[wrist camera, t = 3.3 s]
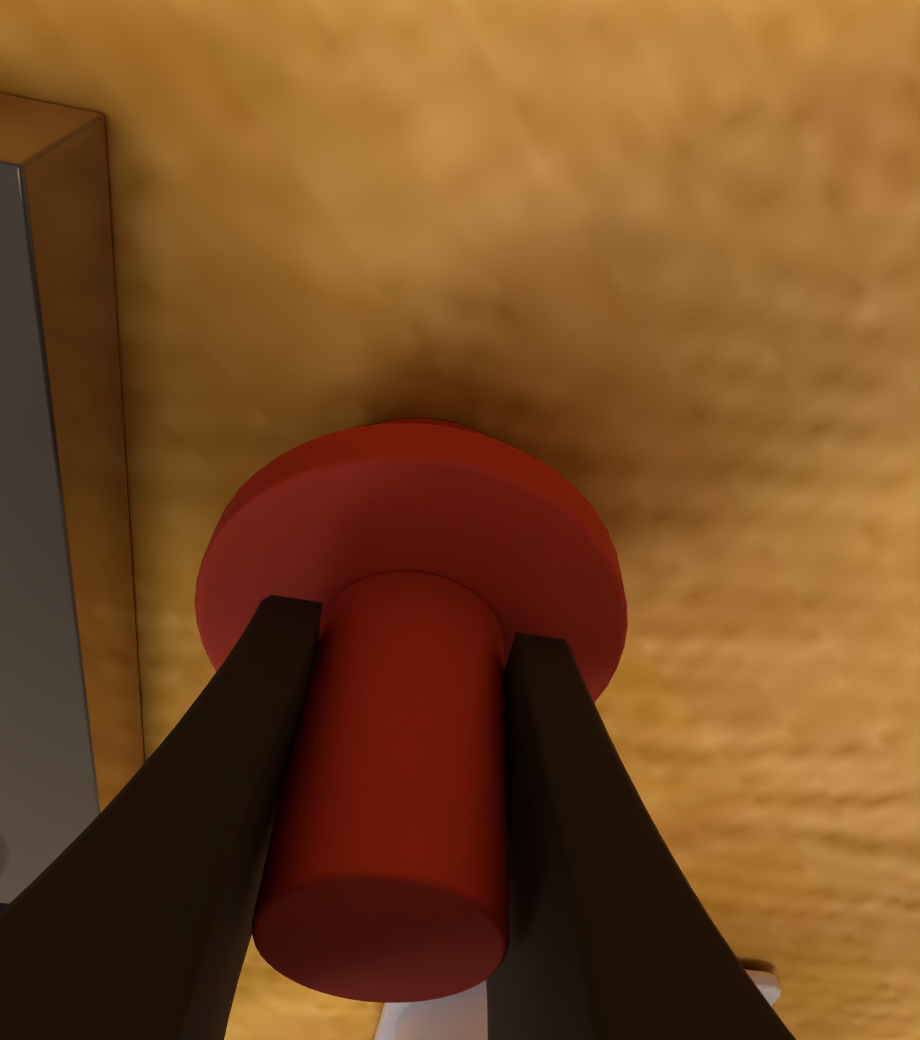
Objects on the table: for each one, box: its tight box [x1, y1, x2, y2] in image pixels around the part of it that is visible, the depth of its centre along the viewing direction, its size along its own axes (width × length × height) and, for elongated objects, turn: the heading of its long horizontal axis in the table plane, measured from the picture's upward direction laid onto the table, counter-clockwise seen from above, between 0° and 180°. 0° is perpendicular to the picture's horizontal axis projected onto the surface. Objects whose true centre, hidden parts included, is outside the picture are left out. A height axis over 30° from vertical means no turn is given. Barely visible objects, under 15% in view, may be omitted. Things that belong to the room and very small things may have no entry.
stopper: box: [195, 418, 628, 1003], centre depth 10 cm, size 6×6×7 cm
